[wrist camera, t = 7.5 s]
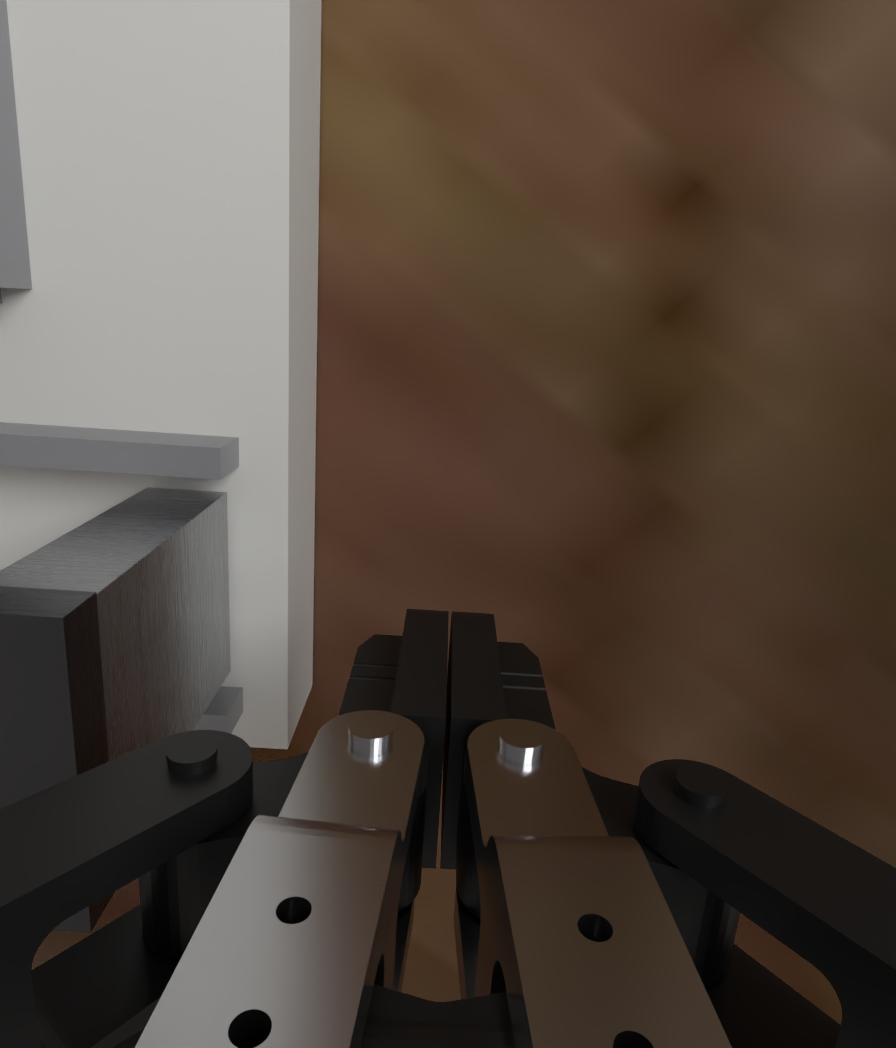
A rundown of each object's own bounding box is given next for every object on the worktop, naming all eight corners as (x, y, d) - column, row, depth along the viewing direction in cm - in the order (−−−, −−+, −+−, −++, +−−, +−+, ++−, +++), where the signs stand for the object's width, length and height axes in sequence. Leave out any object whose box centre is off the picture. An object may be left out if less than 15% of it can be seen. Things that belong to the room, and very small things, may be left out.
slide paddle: (236, 483, 15) (62, 618, 8) (240, 679, 16) (90, 932, 10) (137, 476, 15) (-116, 606, 8) (148, 673, 16) (-64, 922, 9)
